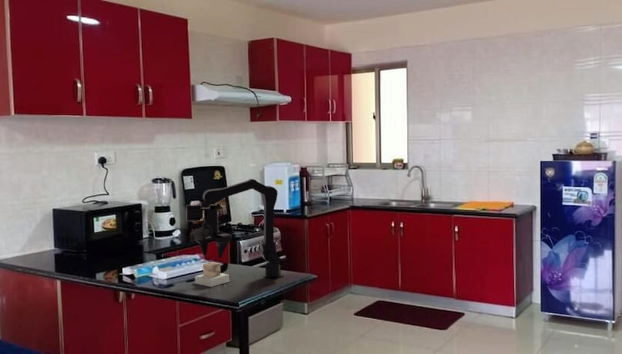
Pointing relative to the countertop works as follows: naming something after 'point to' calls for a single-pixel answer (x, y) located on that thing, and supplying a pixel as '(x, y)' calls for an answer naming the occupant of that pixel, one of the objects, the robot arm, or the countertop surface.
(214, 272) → the birch cube
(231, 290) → the countertop surface
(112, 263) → the countertop surface
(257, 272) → the countertop surface
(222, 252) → the robot arm
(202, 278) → the riser
